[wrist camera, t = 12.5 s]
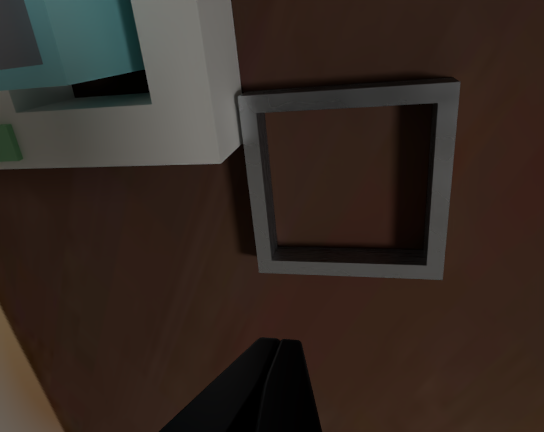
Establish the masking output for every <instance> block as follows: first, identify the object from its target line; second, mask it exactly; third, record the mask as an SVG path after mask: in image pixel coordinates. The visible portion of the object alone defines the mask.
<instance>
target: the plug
mask: <svg viewBox="0 0 544 432" xmlns="http://www.w3.org/2000/svg"><path fill="white" fill-rule="evenodd" d="M144 69H145V67H144V62H143V57H142V52H141V48H140V43H139V38H138V33H137V28H136V23H135V19H134V14H133V9H132V4H131V0H0V91H4V90H17V89H29V88H41V87H53V86H66V85H72V84H77V83H82V82H86V81H91V80H96V79H101V78H106V77H110V76H115V75H120V74H125V73H130V72H134V71H139V70H144Z"/></svg>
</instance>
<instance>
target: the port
mask: <svg viewBox="0 0 544 432" xmlns="http://www.w3.org/2000/svg"><path fill="white" fill-rule="evenodd" d="M131 4H132V9H133V14H134V19H135V23H136V28H137V33H138V38H139V43H140V48H141V52H142V57H143V62H144V67H145V72H146V77H147V82H148V86H149V91H150V93H138V94H124V95H110V96H96V97H82V98H75V96H74V92H73V89H72V85H66V86H53V87H41V88H29V89H17V90H4V91H0V169H30V168H69V167H108V166H147V165H186V164H221V163H222V162H223V161H224V160H225V159H226V158H227V157H228V156H230V155H231V154H232V153H233V152H234V151H235V150H236V149H237V148H238V147H239V146H240V145H241V144H242V143H243V137H242V129H241V121H240V113H239V104H238V96H239V95H241V94H242V90H241V82H240V74H239V65H238V57H237V48H236V40H235V31H234V23H233V14H232V6H231V0H131Z"/></svg>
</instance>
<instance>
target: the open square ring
mask: <svg viewBox="0 0 544 432" xmlns="http://www.w3.org/2000/svg"><path fill="white" fill-rule="evenodd" d="M459 91H460V81H458V80H457V79H455V78H454V77H451V78H436V79H421V80H406V81H392V82H377V83H362V84H347V85H333V86H318V87H303V88H288V89H274V90H259V91H246V92H245V93H243V94H241V95H239V96H238V104H239V113H240V121H241V129H242V137H243V145H244V153H245V161H246V170H247V178H248V186H249V194H250V202H251V210H252V218H253V227H254V235H255V243H256V251H257V259H258V267H259V273H281V274H307V275H332V276H358V277H384V278H409V279H435V280H443V269H444V258H445V247H446V236H447V225H448V214H449V202H450V191H451V180H452V169H453V158H454V147H455V136H456V125H457V114H458V103H459ZM428 103H433V107H432V123H431V138H430V153H429V169H428V184H427V199H426V214H425V230H424V245H423V250H400V249H358V248H315V247H278V245H277V235H276V225H275V215H274V205H273V194H272V184H271V174H270V164H269V154H268V144H267V134H266V123H265V113H264V112H282V111H300V110H319V109H337V108H355V107H373V106H392V105H410V104H428Z"/></svg>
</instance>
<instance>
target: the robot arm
mask: <svg viewBox="0 0 544 432" xmlns="http://www.w3.org/2000/svg"><path fill="white" fill-rule="evenodd" d="M159 432H322V429H321V425H320V420H319V416H318V412H317V407H316V403H315V399H314V395H313V390H312V386H311V382H310V377H309V373H308V369H307V364H306V360H305V356H304V352H303V347H302V343H301V342H300V341H299V340H290V339H282V340H281V341H280V340H279V339H277V338H264V337H262V338H259V339H258V340H257V341H255V342H254V343H253V344H252V345H251V346H250V347H249V348H248V349H247V350H246V351H245V352H244V353H243V354H242V355H240V356H239V357H238V358H237V359H236V360H235V361H234V362H233V363H232V364H231V365H230V366H229V367H228V368H227V369H225V370H224V371H223V372H222V373H221V374H220V375H219V376H218V377H217V378H216V379H215V380H214V381H213V382H211V383H210V384H209V385H208V386H207V387H206V388H205V389H204V390H203V391H202V392H201V393H200V394H199V395H198V396H196V397H195V398H194V399H193V400H192V401H191V402H190V403H189V404H188V405H187V406H186V407H185V408H184V409H183V410H181V411H180V412H179V413H178V414H177V415H176V416H175V417H174V418H173V419H172V420H171V421H170V422H169V423H168V424H166V425H165V426H164V427H163V428H162V429H161V430H160V431H159Z"/></svg>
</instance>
